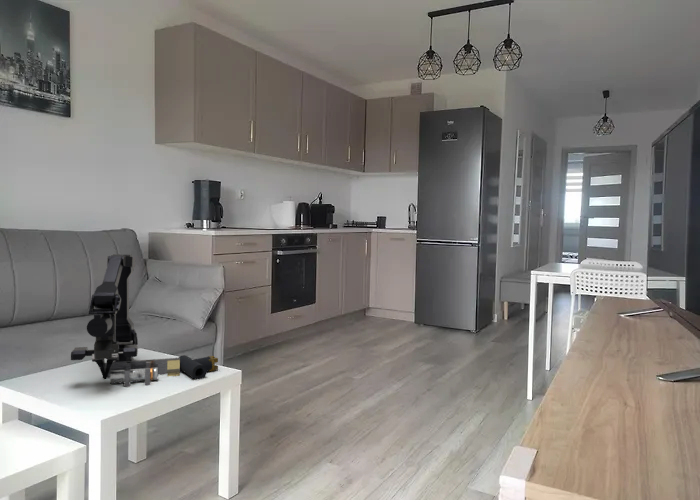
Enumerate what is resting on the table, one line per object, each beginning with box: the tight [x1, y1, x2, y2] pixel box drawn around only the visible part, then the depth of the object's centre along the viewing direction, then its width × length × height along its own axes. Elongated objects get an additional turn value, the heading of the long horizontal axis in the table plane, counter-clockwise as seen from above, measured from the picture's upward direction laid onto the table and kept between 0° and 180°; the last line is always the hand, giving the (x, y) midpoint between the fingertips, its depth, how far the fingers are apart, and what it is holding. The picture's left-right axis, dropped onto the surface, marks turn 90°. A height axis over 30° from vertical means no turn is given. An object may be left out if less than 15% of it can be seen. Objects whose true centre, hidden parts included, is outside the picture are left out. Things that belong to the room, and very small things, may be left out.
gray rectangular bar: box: [105, 357, 181, 379], centre depth 169 cm, size 4×24×5 cm, turn 110°
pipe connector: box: [178, 354, 219, 380], centre depth 176 cm, size 12×5×15 cm
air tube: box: [109, 367, 159, 384], centre depth 164 cm, size 14×4×4 cm, turn 111°
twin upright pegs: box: [123, 361, 151, 388], centre depth 164 cm, size 10×8×5 cm
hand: (105, 379), depth 161 cm, fingers closed
